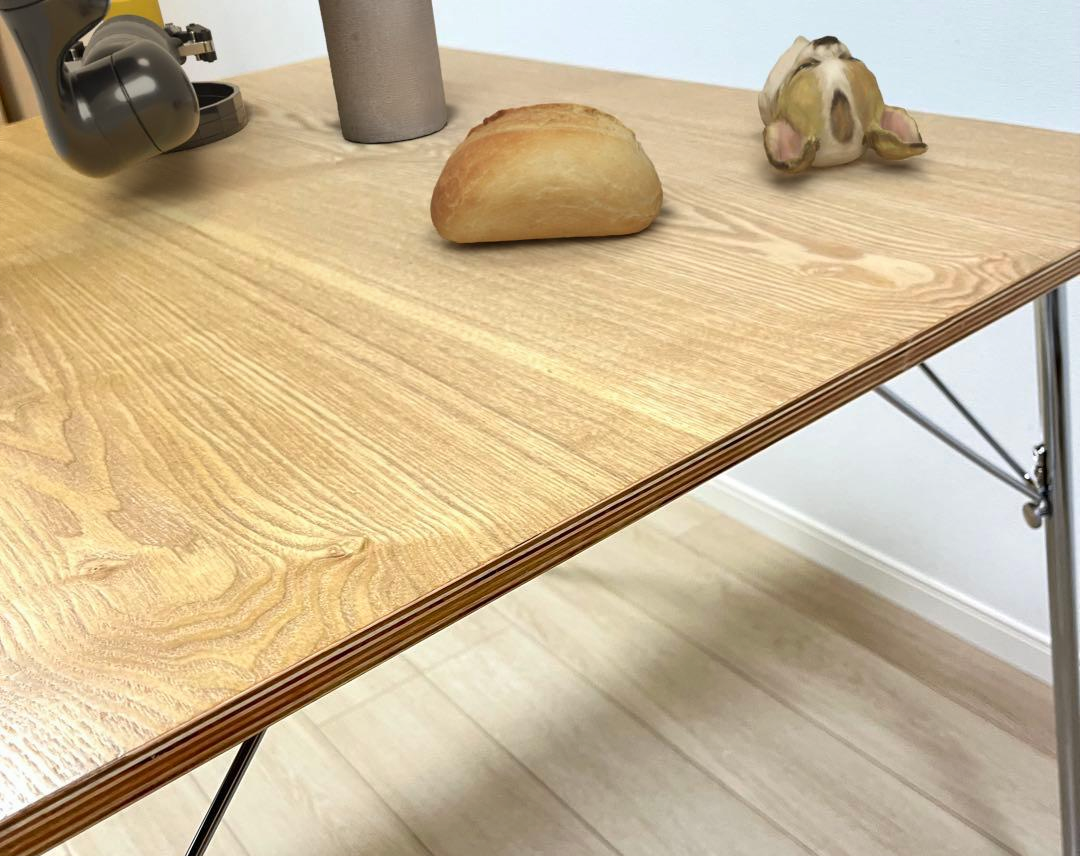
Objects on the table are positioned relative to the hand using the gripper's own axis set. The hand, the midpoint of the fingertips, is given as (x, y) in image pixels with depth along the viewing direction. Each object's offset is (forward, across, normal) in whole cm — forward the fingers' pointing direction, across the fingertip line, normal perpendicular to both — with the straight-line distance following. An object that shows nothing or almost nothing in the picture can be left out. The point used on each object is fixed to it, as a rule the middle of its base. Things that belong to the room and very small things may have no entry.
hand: (140, 39), depth 108 cm
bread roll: (-50, -26, +9) cm, 57 cm away
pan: (-2, 0, +8) cm, 8 cm away
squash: (-3, 0, +6) cm, 7 cm away
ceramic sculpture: (-45, -48, +9) cm, 67 cm away
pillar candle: (-15, -21, +8) cm, 27 cm away
